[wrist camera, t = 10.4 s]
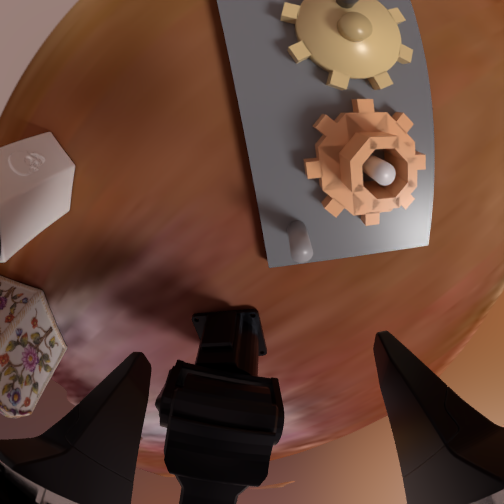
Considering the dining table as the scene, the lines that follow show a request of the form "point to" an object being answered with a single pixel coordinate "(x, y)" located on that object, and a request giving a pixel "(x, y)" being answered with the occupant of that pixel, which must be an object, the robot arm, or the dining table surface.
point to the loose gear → (356, 153)
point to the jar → (32, 189)
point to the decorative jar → (25, 347)
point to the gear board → (332, 104)
